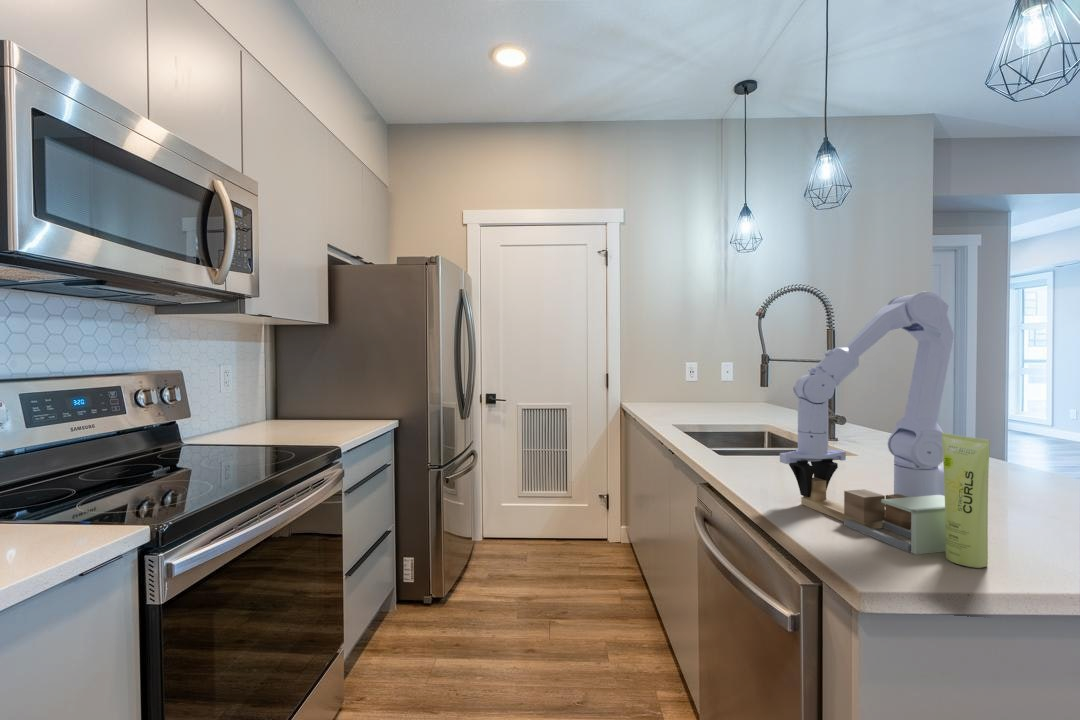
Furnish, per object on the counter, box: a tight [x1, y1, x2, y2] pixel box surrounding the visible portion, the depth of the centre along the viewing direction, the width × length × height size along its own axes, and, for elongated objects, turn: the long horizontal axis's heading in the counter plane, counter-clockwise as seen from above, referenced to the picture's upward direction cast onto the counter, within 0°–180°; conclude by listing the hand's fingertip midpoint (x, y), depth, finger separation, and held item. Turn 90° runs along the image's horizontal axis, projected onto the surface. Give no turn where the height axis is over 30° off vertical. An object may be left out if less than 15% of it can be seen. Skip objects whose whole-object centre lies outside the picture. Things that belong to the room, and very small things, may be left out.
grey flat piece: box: [843, 519, 911, 553], centre depth 90 cm, size 13×13×2 cm
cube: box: [843, 489, 886, 522], centre depth 94 cm, size 4×4×4 cm
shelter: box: [881, 495, 946, 555], centre depth 85 cm, size 12×6×7 cm, turn 102°
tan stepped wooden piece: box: [800, 476, 883, 530], centre depth 100 cm, size 4×16×6 cm, turn 12°
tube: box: [942, 432, 991, 569], centre depth 78 cm, size 6×5×20 cm
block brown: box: [884, 493, 911, 530], centre depth 96 cm, size 4×8×6 cm, turn 12°
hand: (812, 495), depth 107 cm, fingers closed on tan stepped wooden piece, 3 cm apart
